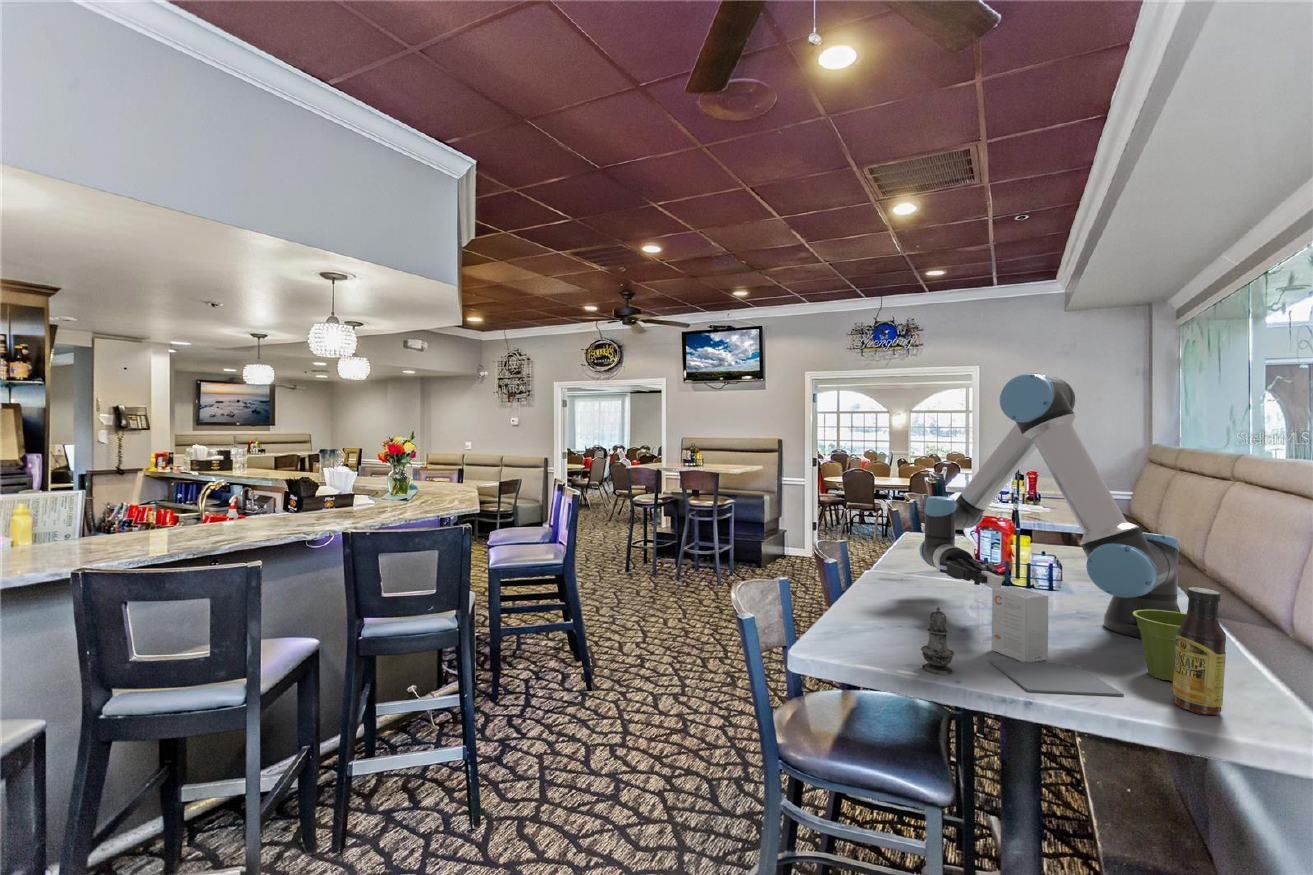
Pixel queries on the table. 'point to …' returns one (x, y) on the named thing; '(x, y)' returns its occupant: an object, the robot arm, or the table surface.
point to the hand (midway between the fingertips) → (997, 583)
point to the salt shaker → (937, 646)
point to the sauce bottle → (1200, 655)
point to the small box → (1020, 624)
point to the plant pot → (1159, 640)
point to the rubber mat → (1054, 678)
